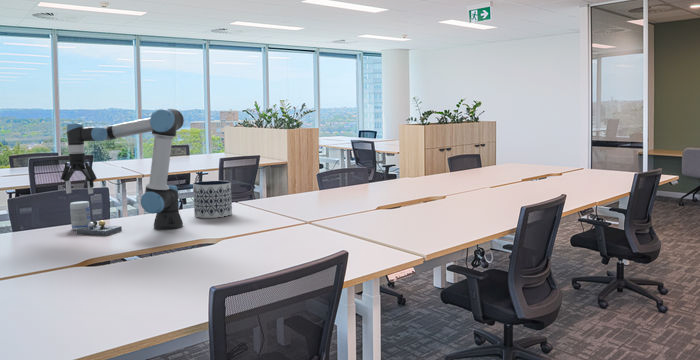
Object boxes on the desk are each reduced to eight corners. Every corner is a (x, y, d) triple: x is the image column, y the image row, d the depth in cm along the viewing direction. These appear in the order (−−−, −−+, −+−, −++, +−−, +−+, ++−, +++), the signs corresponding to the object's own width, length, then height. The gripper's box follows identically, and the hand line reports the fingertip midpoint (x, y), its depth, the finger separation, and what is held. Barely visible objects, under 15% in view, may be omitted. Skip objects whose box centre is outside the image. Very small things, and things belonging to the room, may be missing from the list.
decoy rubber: (98, 225, 286) (98, 219, 286) (94, 226, 283) (94, 221, 282) (93, 225, 287) (93, 219, 286) (89, 226, 284) (89, 220, 283)
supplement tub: (92, 229, 289) (90, 202, 288) (72, 231, 284) (70, 204, 283) (89, 226, 298) (87, 200, 296) (70, 228, 292) (68, 202, 291)
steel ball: (96, 227, 280) (95, 221, 280) (91, 229, 277) (91, 223, 277) (91, 227, 281) (90, 221, 281) (86, 228, 278) (86, 222, 278)
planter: (227, 218, 315) (225, 184, 313) (189, 219, 315) (187, 185, 313) (235, 212, 337) (234, 180, 335) (200, 212, 338) (199, 180, 335)
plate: (121, 230, 284) (121, 226, 283) (106, 235, 272) (105, 230, 272) (93, 229, 288) (92, 225, 288) (76, 234, 277) (76, 229, 276)
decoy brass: (106, 226, 285) (106, 220, 284) (102, 227, 282) (102, 221, 281) (101, 225, 285) (101, 220, 285) (97, 227, 282) (97, 221, 282)
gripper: (102, 152, 278) (105, 192, 280) (62, 152, 284) (65, 192, 286) (91, 153, 270) (94, 194, 273) (51, 153, 277) (54, 194, 279)
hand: (79, 193), depth 280 cm, fingers open, 13 cm apart
